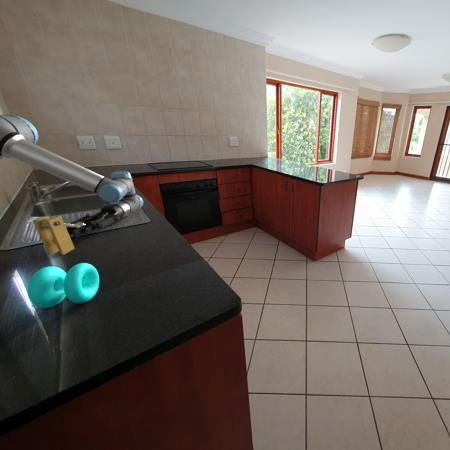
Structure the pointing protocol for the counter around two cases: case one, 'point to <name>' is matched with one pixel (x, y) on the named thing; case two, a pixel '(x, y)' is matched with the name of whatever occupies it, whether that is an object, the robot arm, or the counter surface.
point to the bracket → (54, 235)
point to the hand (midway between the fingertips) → (68, 234)
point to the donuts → (63, 285)
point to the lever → (64, 223)
